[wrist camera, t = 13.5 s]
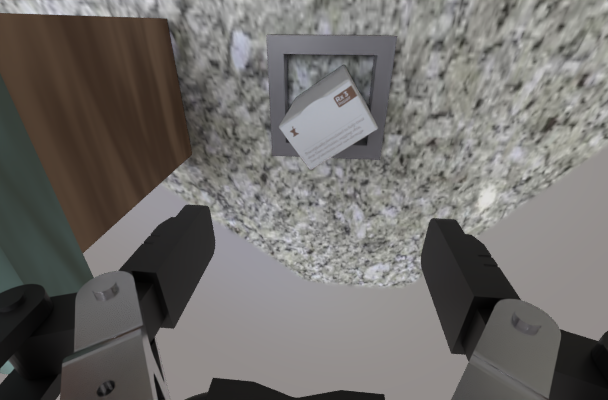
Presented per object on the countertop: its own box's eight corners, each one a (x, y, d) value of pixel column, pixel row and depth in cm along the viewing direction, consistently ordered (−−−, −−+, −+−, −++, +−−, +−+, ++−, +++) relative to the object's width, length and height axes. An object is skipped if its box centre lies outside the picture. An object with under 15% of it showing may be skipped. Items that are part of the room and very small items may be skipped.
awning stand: (205, 12, 29) (-245, -27, 7) (225, 159, 37) (46, 378, 14) (145, 12, 30) (-472, -26, 7) (176, 157, 37) (-72, 366, 14)
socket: (392, 35, 29) (397, 36, 27) (377, 151, 34) (379, 159, 32) (271, 34, 30) (266, 35, 27) (276, 147, 35) (272, 155, 33)
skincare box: (317, 129, 34) (309, 177, 23) (294, 95, 32) (273, 129, 22) (367, 98, 32) (382, 134, 21) (344, 58, 30) (348, 77, 20)
